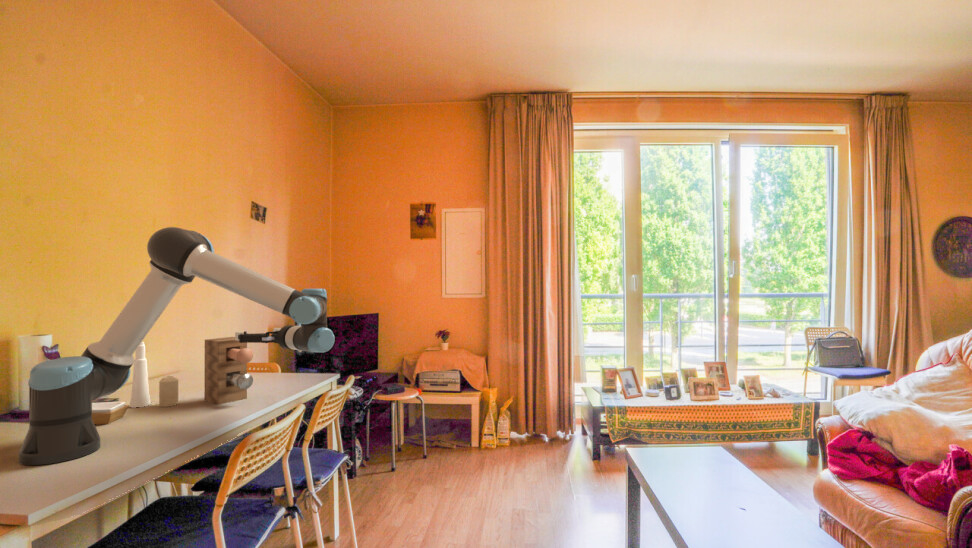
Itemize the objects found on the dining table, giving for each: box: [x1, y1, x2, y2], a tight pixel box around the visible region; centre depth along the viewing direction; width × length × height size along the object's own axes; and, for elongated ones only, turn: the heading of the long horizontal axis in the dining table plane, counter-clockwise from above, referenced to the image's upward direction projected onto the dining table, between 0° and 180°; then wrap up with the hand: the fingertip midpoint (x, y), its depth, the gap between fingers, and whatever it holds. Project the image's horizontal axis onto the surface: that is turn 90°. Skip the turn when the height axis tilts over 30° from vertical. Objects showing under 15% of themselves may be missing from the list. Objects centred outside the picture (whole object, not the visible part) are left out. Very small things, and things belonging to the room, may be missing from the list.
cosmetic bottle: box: [128, 341, 152, 409], centre depth 161 cm, size 6×6×22 cm
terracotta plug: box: [226, 347, 254, 364], centre depth 165 cm, size 11×5×5 cm, turn 57°
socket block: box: [203, 336, 248, 405], centre depth 169 cm, size 10×10×22 cm
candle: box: [158, 375, 179, 408], centre depth 162 cm, size 6×6×10 cm
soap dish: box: [92, 401, 130, 425], centre depth 143 cm, size 12×10×5 cm
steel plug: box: [226, 373, 254, 390], centre depth 165 cm, size 11×5×5 cm, turn 57°
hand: (255, 333), depth 158 cm, fingers open, 13 cm apart
